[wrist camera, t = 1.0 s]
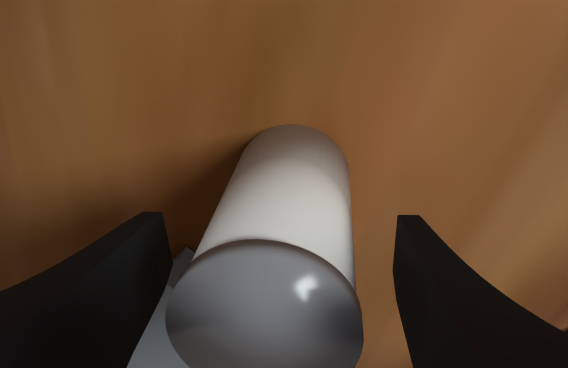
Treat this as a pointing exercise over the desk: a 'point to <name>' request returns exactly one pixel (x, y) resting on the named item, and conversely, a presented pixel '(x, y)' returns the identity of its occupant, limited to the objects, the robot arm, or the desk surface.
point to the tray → (161, 327)
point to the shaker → (274, 263)
